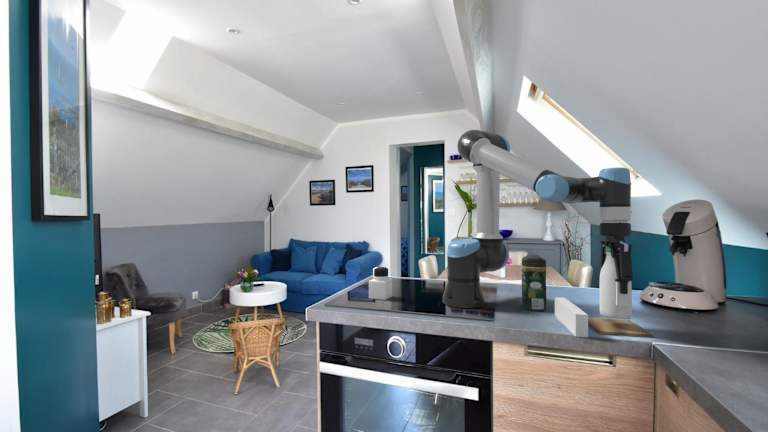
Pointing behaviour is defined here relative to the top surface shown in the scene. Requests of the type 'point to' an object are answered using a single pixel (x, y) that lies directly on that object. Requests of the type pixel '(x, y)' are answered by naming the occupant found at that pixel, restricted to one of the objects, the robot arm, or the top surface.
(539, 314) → the top surface
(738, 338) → the top surface
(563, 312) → the low wall
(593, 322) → the walnut pad
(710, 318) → the top surface
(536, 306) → the coffee jar
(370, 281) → the medicine bottle
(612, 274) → the milk bottle
